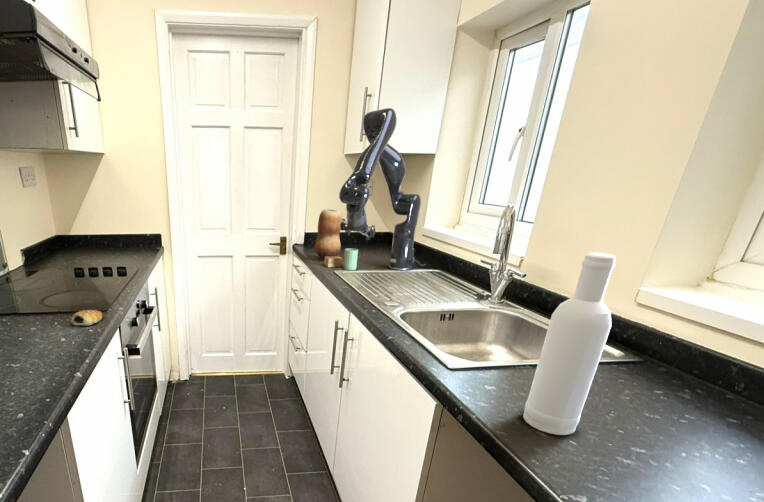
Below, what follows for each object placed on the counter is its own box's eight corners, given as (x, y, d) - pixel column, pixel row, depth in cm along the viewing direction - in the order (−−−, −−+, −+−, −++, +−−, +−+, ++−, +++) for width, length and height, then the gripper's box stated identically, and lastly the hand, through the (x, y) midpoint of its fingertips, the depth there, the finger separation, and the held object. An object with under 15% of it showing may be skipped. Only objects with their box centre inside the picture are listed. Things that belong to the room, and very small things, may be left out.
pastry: (91, 315, 129) (89, 304, 128) (109, 318, 127) (107, 306, 126) (69, 325, 121) (67, 313, 119) (88, 328, 119) (86, 315, 117)
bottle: (557, 411, 77) (609, 250, 65) (586, 436, 69) (650, 259, 58) (513, 410, 77) (557, 249, 66) (537, 435, 70) (591, 259, 59)
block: (337, 264, 203) (338, 256, 201) (342, 266, 197) (342, 258, 196) (324, 264, 202) (324, 256, 200) (328, 267, 196) (328, 258, 195)
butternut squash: (339, 262, 207) (343, 210, 198) (313, 261, 209) (315, 210, 200) (339, 257, 220) (343, 208, 210) (314, 256, 222) (317, 208, 212)
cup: (353, 267, 196) (355, 248, 193) (358, 269, 191) (360, 250, 187) (341, 267, 195) (343, 248, 192) (346, 270, 190) (347, 250, 186)
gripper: (377, 212, 160) (377, 232, 175) (342, 205, 165) (345, 224, 180) (371, 230, 159) (371, 247, 175) (336, 222, 164) (339, 240, 179)
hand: (358, 236), depth 177 cm, fingers open, 8 cm apart
